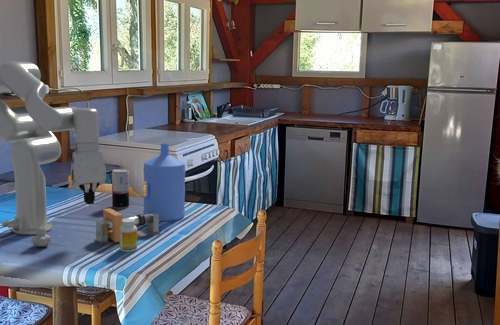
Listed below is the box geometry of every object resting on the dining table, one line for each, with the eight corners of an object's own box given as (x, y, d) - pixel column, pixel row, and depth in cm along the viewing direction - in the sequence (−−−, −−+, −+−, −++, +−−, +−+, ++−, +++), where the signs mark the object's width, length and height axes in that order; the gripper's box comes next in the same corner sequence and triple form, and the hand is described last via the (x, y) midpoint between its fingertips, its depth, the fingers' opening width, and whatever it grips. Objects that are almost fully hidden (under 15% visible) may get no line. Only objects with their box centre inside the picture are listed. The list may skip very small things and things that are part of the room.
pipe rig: (102, 245, 168) (101, 224, 166) (94, 240, 172) (94, 219, 171) (160, 234, 181) (160, 214, 180) (151, 229, 185) (151, 210, 184)
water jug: (190, 213, 207) (192, 143, 202) (174, 224, 193) (175, 148, 187) (154, 208, 211) (154, 140, 206) (136, 219, 197) (135, 145, 192)
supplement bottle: (116, 249, 165) (115, 219, 163) (130, 245, 169) (130, 216, 167) (126, 253, 161) (125, 223, 160) (140, 249, 165) (140, 220, 164)
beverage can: (109, 207, 211) (108, 171, 208) (117, 203, 217) (116, 168, 214) (124, 209, 209) (124, 172, 206) (131, 205, 215) (131, 169, 213)
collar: (115, 242, 169) (115, 215, 167) (103, 234, 176) (103, 209, 174) (122, 240, 170) (122, 214, 169) (110, 233, 177) (110, 208, 176)
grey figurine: (49, 242, 169) (48, 218, 167) (52, 249, 163) (51, 224, 162) (31, 244, 166) (30, 220, 165) (33, 251, 160) (32, 226, 159)
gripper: (68, 150, 159) (71, 209, 162) (114, 146, 168) (116, 202, 172) (59, 147, 165) (62, 204, 168) (104, 144, 174) (106, 197, 177)
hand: (89, 203), depth 170 cm, fingers closed
